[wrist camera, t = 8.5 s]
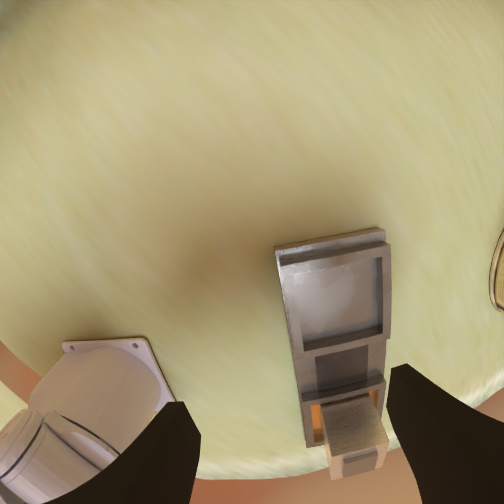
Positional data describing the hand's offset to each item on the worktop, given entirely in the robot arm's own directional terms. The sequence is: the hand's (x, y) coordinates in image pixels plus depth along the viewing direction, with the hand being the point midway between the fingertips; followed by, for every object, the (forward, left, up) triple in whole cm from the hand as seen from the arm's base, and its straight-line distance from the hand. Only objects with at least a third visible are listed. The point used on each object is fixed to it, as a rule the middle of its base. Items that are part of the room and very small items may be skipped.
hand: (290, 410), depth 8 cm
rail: (+4, -7, -10) cm, 13 cm away
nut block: (+4, -12, -9) cm, 15 cm away
